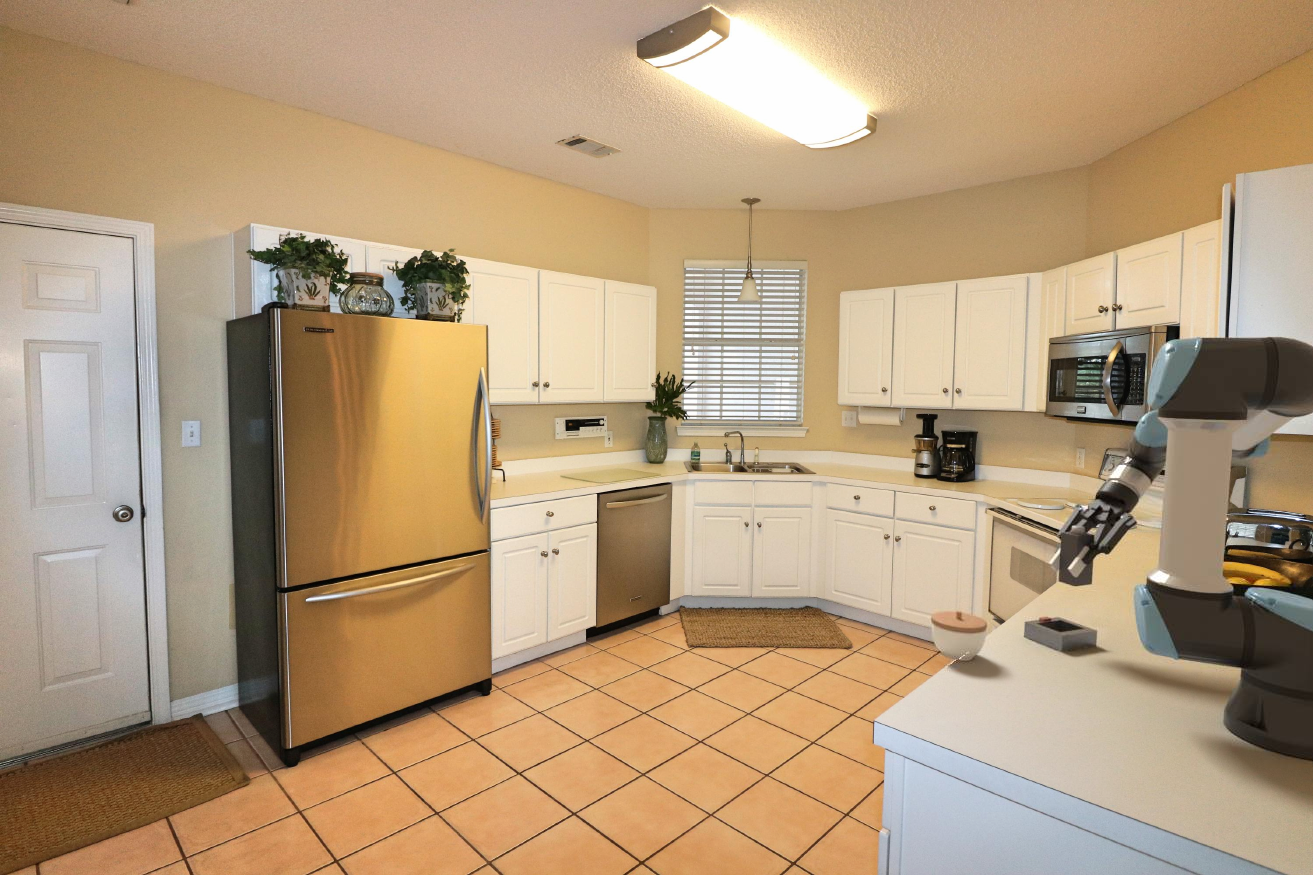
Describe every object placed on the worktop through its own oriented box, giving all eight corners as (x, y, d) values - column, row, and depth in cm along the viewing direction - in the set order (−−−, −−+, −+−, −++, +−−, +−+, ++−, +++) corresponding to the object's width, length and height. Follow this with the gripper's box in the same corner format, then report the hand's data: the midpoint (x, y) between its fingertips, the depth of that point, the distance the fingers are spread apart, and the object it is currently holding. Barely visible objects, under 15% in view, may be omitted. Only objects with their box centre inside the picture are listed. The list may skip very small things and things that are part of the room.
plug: (1091, 584, 150) (1095, 527, 149) (1074, 586, 148) (1078, 529, 147) (1075, 579, 154) (1078, 524, 153) (1058, 581, 152) (1061, 525, 151)
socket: (1096, 645, 152) (1097, 627, 151) (1061, 651, 148) (1062, 633, 148) (1057, 631, 160) (1058, 614, 160) (1023, 636, 157) (1024, 619, 157)
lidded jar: (926, 658, 143) (928, 614, 142) (932, 642, 152) (934, 600, 152) (984, 669, 138) (986, 623, 137) (986, 651, 148) (988, 608, 147)
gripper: (1168, 508, 147) (1107, 592, 143) (1094, 495, 163) (1037, 570, 159) (1153, 485, 144) (1090, 569, 140) (1079, 474, 161) (1021, 549, 156)
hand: (1062, 569), depth 150 cm, fingers closed on plug, 4 cm apart
